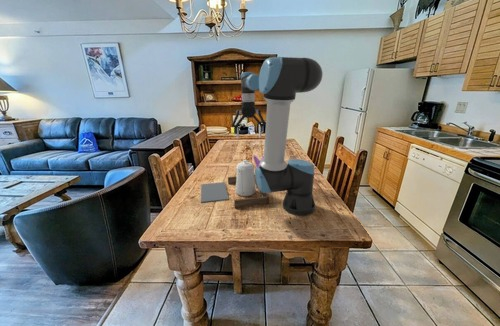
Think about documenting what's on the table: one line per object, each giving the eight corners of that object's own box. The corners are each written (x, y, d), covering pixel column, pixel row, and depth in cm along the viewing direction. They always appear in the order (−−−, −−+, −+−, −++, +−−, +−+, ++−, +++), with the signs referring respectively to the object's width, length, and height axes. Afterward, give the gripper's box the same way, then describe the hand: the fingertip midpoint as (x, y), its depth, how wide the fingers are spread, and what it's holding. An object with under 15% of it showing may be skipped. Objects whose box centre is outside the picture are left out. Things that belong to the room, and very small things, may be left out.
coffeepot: (229, 203, 109) (227, 167, 103) (241, 183, 132) (240, 153, 126) (250, 204, 107) (250, 169, 101) (258, 184, 130) (258, 154, 124)
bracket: (269, 204, 107) (269, 197, 106) (234, 208, 104) (234, 200, 103) (255, 180, 136) (255, 174, 134) (228, 183, 132) (227, 177, 131)
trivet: (228, 199, 112) (228, 198, 112) (201, 202, 110) (200, 201, 110) (224, 183, 133) (224, 182, 133) (201, 185, 130) (201, 184, 130)
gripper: (267, 100, 130) (267, 135, 137) (226, 101, 126) (227, 137, 133) (271, 101, 123) (270, 137, 130) (227, 102, 119) (229, 140, 126)
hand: (249, 137), depth 131 cm, fingers open, 13 cm apart
